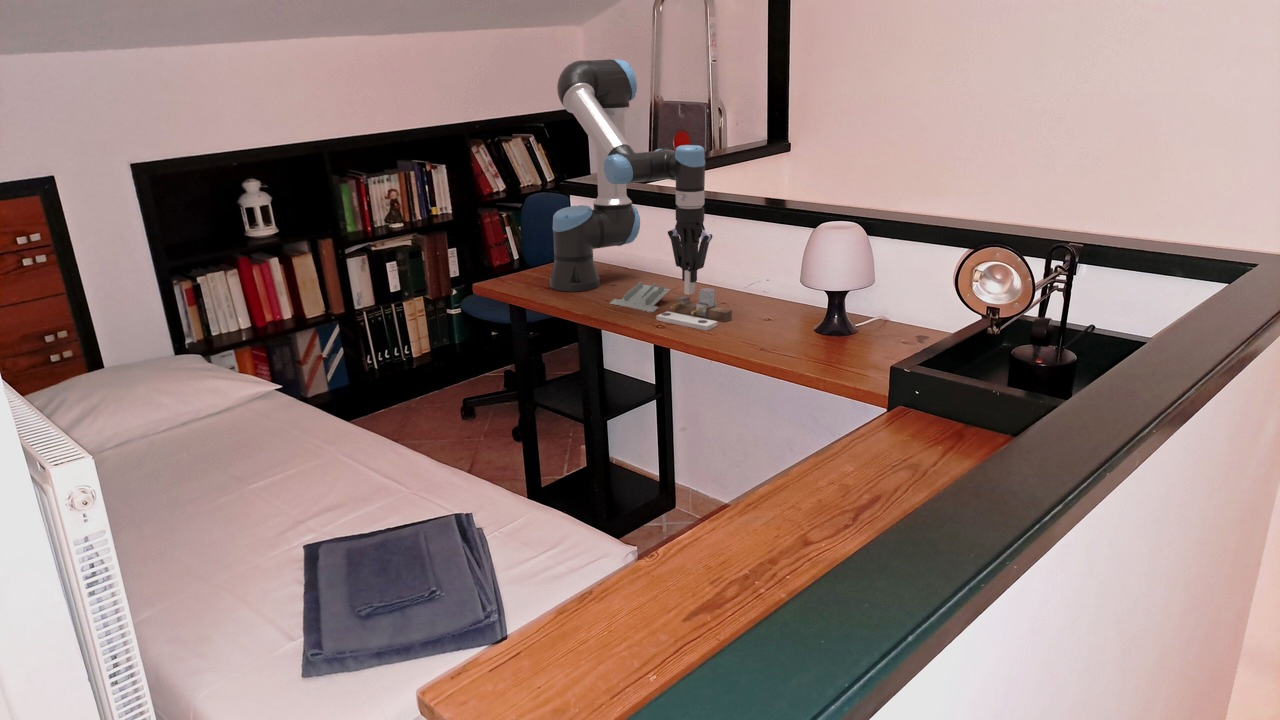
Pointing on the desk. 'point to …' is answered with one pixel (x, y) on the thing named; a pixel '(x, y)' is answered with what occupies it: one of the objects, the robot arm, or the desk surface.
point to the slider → (704, 301)
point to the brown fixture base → (712, 312)
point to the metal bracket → (642, 297)
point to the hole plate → (686, 320)
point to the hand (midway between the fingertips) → (689, 293)
